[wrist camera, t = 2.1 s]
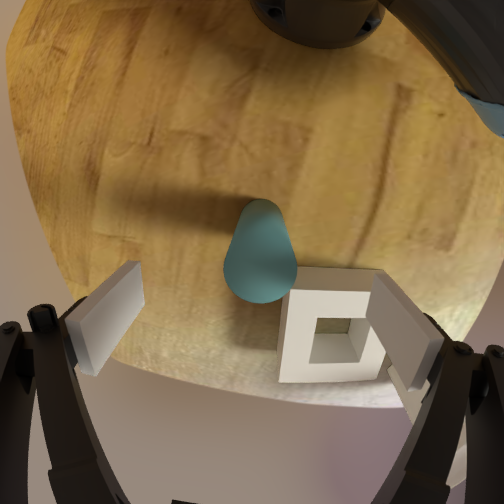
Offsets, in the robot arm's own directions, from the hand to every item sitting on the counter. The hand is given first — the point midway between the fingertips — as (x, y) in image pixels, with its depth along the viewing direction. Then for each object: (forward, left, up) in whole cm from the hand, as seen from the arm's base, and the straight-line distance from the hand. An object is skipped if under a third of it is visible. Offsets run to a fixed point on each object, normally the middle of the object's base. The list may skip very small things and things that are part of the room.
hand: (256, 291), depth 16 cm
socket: (+11, +9, -16) cm, 22 cm away
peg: (0, 0, -16) cm, 16 cm away
